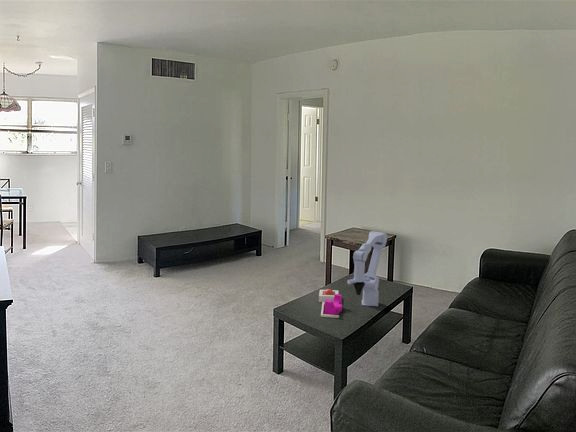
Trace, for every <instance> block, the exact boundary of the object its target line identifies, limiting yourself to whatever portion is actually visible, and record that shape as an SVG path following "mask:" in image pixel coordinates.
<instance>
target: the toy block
mask: <svg viewBox="0 0 576 432" xmlns="http://www.w3.org/2000/svg"><path fill="white" fill-rule="evenodd" d="M342 297H343V295H342V294H339V293H338V294H335V296H334V300H333V301H329V300H326V301H325V305H324V314H327V315H339V313H341V312H342V311H343V304H342V300H343V299H342Z"/></svg>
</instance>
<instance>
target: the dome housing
mask: <svg viewBox="0 0 576 432" xmlns="http://www.w3.org/2000/svg"><path fill="white" fill-rule="evenodd" d="M325 290H326V289H319V293H318V302H319V303H322V302H325V301H326V300H329V301H333V300H334V296H335V295H323V292H324V291H325ZM331 290H332V291H333V292H334V293H335V294H339V290H338V289H337V290H335V289H334V290H333V289H331Z"/></svg>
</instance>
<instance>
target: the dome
mask: <svg viewBox="0 0 576 432" xmlns="http://www.w3.org/2000/svg"><path fill="white" fill-rule="evenodd" d="M324 290H325V291H324V292H323V295H335V293H334V292H333V291H332V290H333V289H330V288H326V289H324Z"/></svg>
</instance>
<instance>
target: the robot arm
mask: <svg viewBox="0 0 576 432" xmlns="http://www.w3.org/2000/svg"><path fill="white" fill-rule="evenodd" d="M387 242H388V234H387V232H381V231H373V230H371V231H370V232H369V234H368V239H367V240H366V242H364V243H362V245H361V246H360V247H359V249H358V250H355V251H354V252H353V254H352V255H353V256H352V259H353V264H354V266H353V267H354V269H353V273H354V274H353V278H351V279H347V282H346V283H347V284H348V285H353V286H354V289H355V294H356V295H357V296H361V294H362V300H361V306H367V307H370V306H371V307H379V302H380V299H379V293H380V292H379V289H378V288H379V283H380V279H379V276H378V275H377V271H378V267H379V263H380V260H381V259H380V258H381V255H382V251H383V249H384V248H385V247H386V245H387ZM372 247H373V250H372ZM371 251H372V254H371V257H370V262H369V266H368V269H367V272H366V273H365V269H366V261H367V259H368V256H369V253H370V252H371Z"/></svg>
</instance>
